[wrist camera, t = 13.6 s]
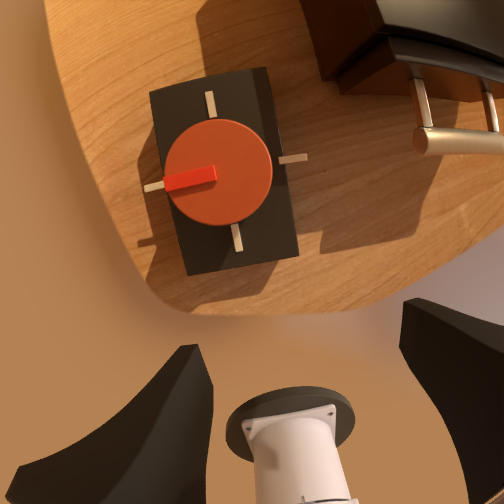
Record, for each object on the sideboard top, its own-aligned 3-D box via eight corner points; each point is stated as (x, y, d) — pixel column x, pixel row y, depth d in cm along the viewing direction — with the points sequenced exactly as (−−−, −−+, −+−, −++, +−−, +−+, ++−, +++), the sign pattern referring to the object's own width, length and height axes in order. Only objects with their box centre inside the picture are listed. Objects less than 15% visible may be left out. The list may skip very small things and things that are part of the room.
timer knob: (256, 123, 13) (262, 107, 9) (272, 202, 14) (282, 216, 10) (175, 140, 13) (152, 133, 9) (192, 218, 14) (175, 237, 10)
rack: (477, 152, 15) (543, 158, 8) (351, 158, 15) (415, 158, 9) (413, -40, 9) (450, -72, 3) (286, -61, 10) (300, -116, 3)
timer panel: (307, 238, 18) (320, 253, 14) (179, 261, 18) (167, 280, 15) (280, 80, 15) (288, 63, 12) (147, 108, 15) (127, 97, 12)
